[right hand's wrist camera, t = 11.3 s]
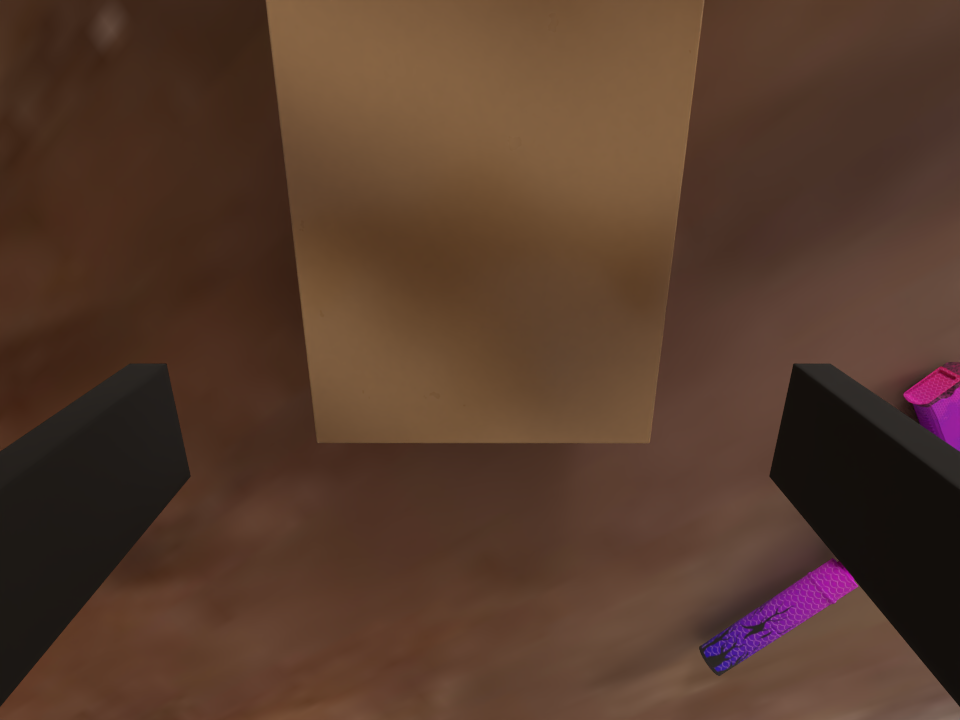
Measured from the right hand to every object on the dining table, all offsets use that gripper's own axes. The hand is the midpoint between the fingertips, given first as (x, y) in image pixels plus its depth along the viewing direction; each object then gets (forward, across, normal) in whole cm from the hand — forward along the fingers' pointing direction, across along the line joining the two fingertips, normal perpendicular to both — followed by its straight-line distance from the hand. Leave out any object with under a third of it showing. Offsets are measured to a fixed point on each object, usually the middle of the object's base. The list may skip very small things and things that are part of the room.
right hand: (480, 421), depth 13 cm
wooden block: (+16, 0, -3) cm, 16 cm away
